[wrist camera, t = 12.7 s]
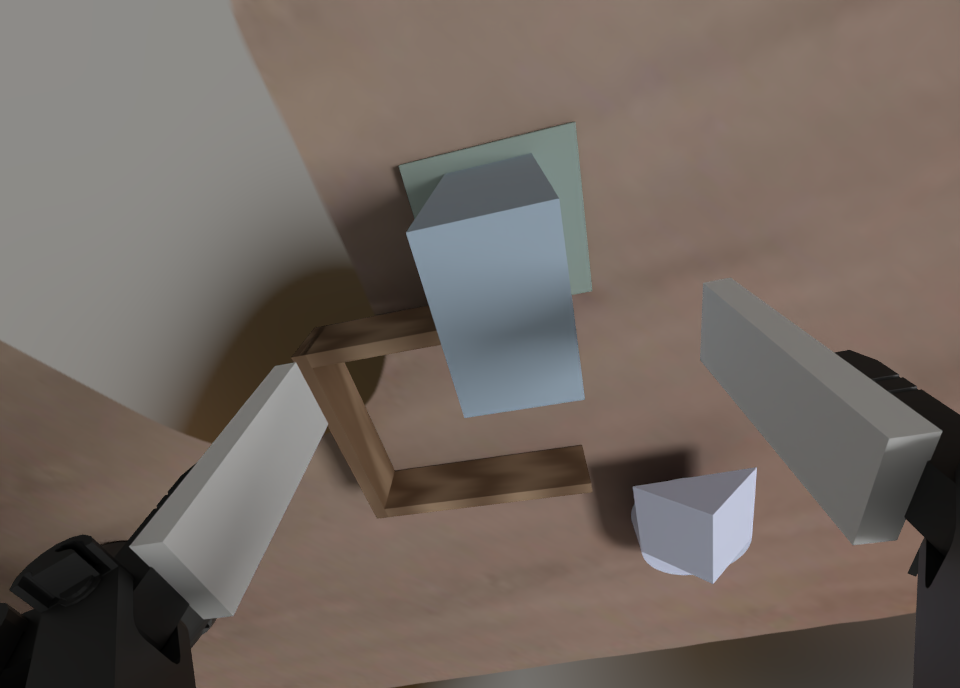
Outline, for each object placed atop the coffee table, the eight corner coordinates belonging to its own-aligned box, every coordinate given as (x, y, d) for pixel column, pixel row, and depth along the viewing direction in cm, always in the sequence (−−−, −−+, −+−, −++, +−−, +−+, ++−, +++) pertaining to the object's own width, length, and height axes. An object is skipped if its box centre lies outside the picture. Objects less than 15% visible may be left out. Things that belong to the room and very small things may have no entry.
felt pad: (445, 315, 29) (444, 318, 29) (400, 164, 24) (398, 165, 24) (590, 288, 28) (592, 291, 27) (573, 121, 23) (575, 122, 22)
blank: (476, 298, 28) (464, 418, 18) (444, 173, 24) (405, 232, 14) (551, 284, 27) (584, 399, 17) (531, 152, 23) (559, 198, 13)
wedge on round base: (621, 454, 35) (635, 546, 42) (645, 524, 30) (657, 619, 36) (734, 435, 34) (731, 534, 40) (783, 505, 28) (770, 607, 34)
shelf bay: (387, 480, 38) (377, 518, 34) (314, 327, 30) (290, 357, 27) (583, 453, 35) (592, 492, 32) (558, 280, 28) (567, 306, 24)
